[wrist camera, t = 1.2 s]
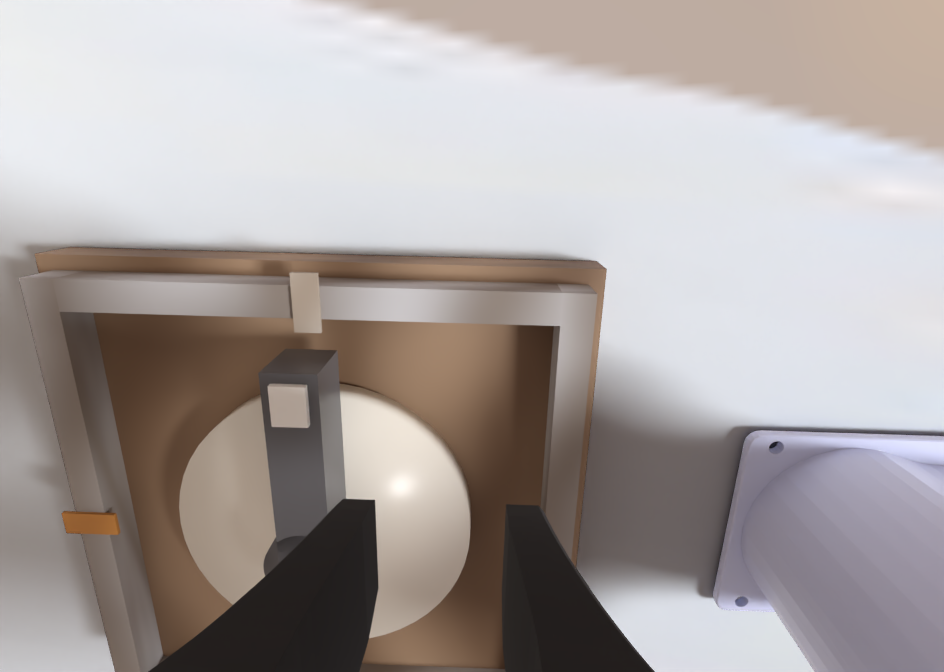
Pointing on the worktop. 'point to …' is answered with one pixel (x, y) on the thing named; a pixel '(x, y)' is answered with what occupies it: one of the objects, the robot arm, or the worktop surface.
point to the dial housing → (360, 364)
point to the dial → (326, 486)
